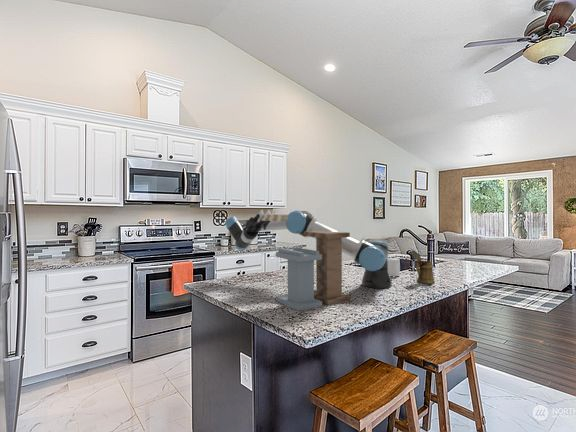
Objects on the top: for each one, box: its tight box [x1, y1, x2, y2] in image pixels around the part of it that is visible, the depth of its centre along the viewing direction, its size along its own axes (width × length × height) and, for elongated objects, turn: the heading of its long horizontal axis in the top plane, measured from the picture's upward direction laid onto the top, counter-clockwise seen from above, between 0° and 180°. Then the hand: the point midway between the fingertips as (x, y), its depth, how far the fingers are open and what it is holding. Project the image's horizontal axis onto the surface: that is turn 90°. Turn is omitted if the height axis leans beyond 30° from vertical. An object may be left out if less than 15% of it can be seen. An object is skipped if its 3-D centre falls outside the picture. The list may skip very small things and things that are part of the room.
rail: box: [257, 213, 288, 221], centre depth 161 cm, size 26×3×3 cm, turn 31°
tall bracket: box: [303, 231, 351, 306], centre depth 151 cm, size 18×12×30 cm, turn 31°
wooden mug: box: [410, 249, 436, 285], centre depth 184 cm, size 9×14×18 cm, turn 108°
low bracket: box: [275, 246, 323, 312], centre depth 143 cm, size 18×12×23 cm, turn 31°
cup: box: [388, 257, 401, 277], centre depth 202 cm, size 8×12×10 cm
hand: (266, 212), depth 165 cm, fingers closed on rail, 3 cm apart
